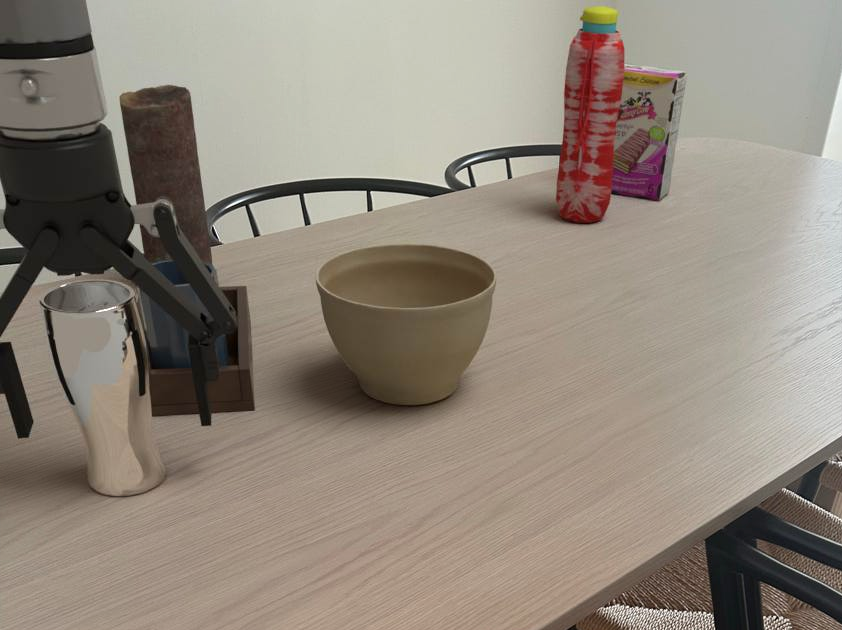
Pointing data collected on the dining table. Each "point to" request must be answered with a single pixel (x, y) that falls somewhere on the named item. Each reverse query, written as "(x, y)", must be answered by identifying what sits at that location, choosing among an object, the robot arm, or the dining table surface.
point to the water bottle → (590, 117)
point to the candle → (166, 162)
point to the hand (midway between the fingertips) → (117, 424)
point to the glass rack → (234, 381)
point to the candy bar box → (647, 131)
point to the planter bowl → (406, 316)
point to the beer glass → (105, 381)
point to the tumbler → (174, 323)
